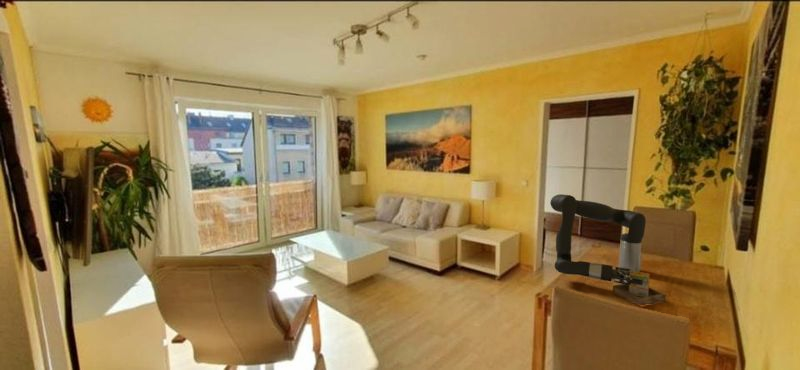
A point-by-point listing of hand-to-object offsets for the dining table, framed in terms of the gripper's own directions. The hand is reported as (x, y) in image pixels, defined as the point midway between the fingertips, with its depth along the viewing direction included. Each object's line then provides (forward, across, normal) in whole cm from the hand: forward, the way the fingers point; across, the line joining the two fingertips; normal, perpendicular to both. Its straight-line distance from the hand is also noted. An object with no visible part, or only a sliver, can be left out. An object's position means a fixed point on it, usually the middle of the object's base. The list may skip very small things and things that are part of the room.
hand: (642, 279), depth 149 cm
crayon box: (-1, 0, +8) cm, 8 cm away
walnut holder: (-1, 0, +9) cm, 9 cm away
